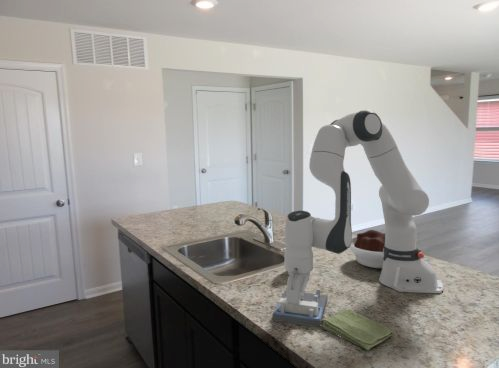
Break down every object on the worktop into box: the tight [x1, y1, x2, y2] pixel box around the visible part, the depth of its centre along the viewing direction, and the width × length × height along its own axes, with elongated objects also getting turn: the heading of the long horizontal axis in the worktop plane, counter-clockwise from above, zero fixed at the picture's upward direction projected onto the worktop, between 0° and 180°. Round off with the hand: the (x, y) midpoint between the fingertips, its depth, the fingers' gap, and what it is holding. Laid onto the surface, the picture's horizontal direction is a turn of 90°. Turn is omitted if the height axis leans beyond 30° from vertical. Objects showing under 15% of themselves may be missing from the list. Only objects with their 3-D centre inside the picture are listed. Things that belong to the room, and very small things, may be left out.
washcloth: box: [321, 309, 394, 351], centre depth 109 cm, size 13×18×3 cm
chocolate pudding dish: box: [348, 229, 385, 269], centre depth 162 cm, size 25×25×15 cm
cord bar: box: [278, 298, 318, 316], centre depth 118 cm, size 12×3×3 cm, turn 72°
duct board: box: [272, 287, 328, 328], centre depth 123 cm, size 15×18×4 cm
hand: (298, 304), depth 118 cm, fingers open, 4 cm apart
